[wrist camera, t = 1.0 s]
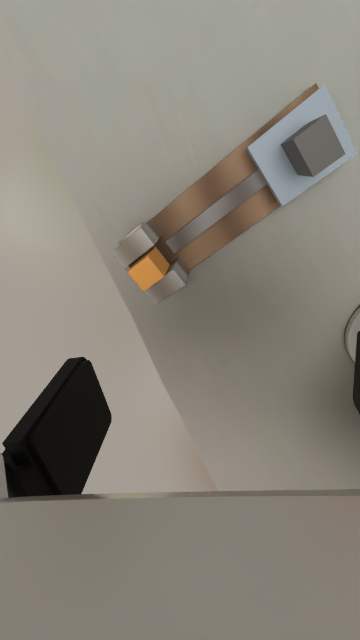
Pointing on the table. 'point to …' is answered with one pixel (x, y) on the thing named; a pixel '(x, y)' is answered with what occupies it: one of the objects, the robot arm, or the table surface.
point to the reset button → (149, 269)
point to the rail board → (204, 216)
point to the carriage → (302, 147)
